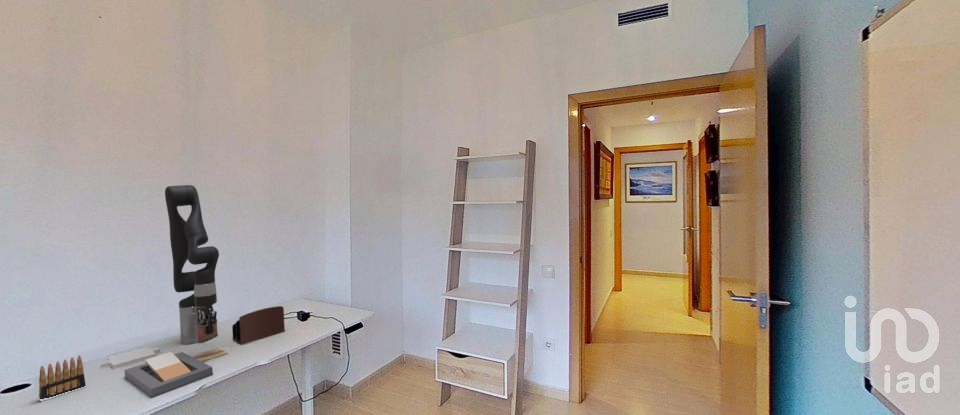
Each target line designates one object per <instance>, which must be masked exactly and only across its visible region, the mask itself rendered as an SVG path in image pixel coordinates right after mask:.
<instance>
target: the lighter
mask: <svg viewBox="0 0 960 415" xmlns="http://www.w3.org/2000/svg"><path fill="white" fill-rule="evenodd" d="M200 322H201V324H199V325H197V328H198V342H197V343H198V344H204V343H206V342H209V341H212V340H214V339H215V338H218V337H219V334H218V319H217V318H216V324H213V333H212V334H209V335H208V334H207V333H206V322H205V321H204V319H201V320H200Z"/></svg>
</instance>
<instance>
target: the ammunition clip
mask: <svg viewBox="0 0 960 415" xmlns="http://www.w3.org/2000/svg"><path fill="white" fill-rule="evenodd" d="M76 362H77V363H76ZM47 366H48V367H47V374H46V369H45V367H44V366H43V365H41V366H40V369H39V379H38V381H39V382H38V383H39V386H38V388H39V394H38V395H39V396H38V398H40V399H44V398H49V397H53V396H56V395H59V394H62V393H65V392H68V391H72V390H75V389H78V388H81V387H84V386H87V384H86V379H85V378H86V377H85V372H84V371H85V370H84V365H83V359H82V357H81V355H78V356H77V359H76V361H75V359H74V357H71V358H70V361H69V365H68V361H67V359H66V358H65V359H63V363H62V369H61V364H60V362H59V361H56V364H55V367H53V365H52V364H51V363H49V364H48V365H47ZM54 368H55V371H54ZM84 388H85V387H84ZM81 389H82V388H81Z"/></svg>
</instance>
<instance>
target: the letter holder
mask: <svg viewBox="0 0 960 415" xmlns="http://www.w3.org/2000/svg"><path fill="white" fill-rule="evenodd" d="M285 330H286V329H285V309H284V306H281V305H280V306H279V305H278V306H270V307H267V308H262V309H258V310H253V311H252V312H248V313H246V314H244V315H243V314H242V315H241V316H240V317H238V320H237V321H235V323H234V324H233V325H232V330H231V331H232V341H233V342H235V343H237V344H238V345H241V346H242V345H246V344H249V343H252V342H255V341H258V340H262V339H265V338H268V337H271V336H275V335H277V334H282V333H284V332H285Z"/></svg>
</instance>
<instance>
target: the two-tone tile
mask: <svg viewBox="0 0 960 415" xmlns="http://www.w3.org/2000/svg"><path fill="white" fill-rule="evenodd" d="M144 363H146V364H147V365H148V366H149V367H150V368H151V369H152V370H153V371H154V372H155V374H156V375H157V376H158V377H159V378H160V379H161V380H162V381H166V380H169V379H172V378H174V377H177V376H180V375H183V374H186V373H189V372H191V371H190V370H189V369H188V368H187V367H186V366H185V365H184V364H183V363H182V362H181V361H180V360H179V359H178V358H177V357H176V356H175V355H174V353H173V352H172V351H169V352H166V353H163V354H159V355H156V357H152V358H149V359H146V360H144Z"/></svg>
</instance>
